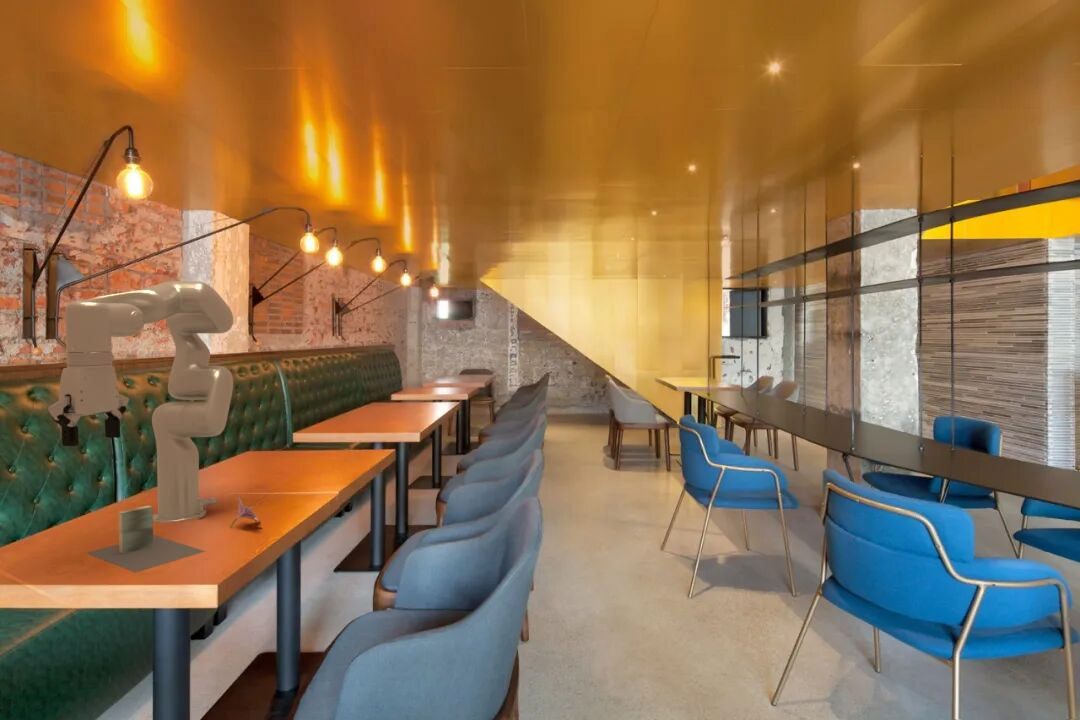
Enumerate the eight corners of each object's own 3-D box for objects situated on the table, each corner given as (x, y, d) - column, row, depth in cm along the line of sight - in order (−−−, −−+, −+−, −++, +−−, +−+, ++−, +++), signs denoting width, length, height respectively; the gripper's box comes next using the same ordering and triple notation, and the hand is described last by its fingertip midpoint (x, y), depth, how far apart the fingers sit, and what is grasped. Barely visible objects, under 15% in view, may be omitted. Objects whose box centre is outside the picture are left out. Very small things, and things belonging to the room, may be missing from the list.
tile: (148, 544, 133) (148, 505, 133) (153, 545, 132) (152, 506, 132) (119, 552, 128) (118, 511, 128) (123, 553, 127) (123, 513, 127)
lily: (251, 541, 140) (270, 503, 144) (203, 524, 139) (224, 486, 142) (261, 541, 151) (279, 506, 155) (217, 525, 150) (236, 490, 153)
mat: (154, 538, 139) (154, 535, 139) (205, 554, 128) (205, 551, 128) (85, 556, 127) (85, 552, 127) (135, 576, 116) (135, 572, 116)
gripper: (111, 359, 130) (113, 434, 131) (32, 362, 113) (35, 448, 114) (140, 359, 129) (142, 435, 129) (65, 362, 112) (68, 450, 112)
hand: (92, 441), depth 121 cm, fingers open, 9 cm apart
